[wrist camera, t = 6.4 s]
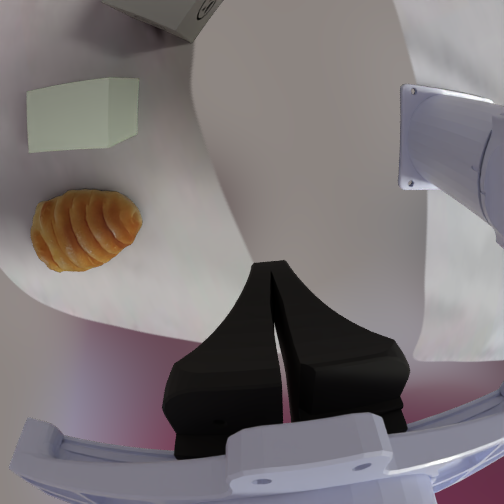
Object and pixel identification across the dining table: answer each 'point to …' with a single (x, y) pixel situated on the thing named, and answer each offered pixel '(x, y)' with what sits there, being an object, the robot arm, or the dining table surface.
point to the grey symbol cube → (170, 14)
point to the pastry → (83, 229)
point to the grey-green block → (82, 114)
